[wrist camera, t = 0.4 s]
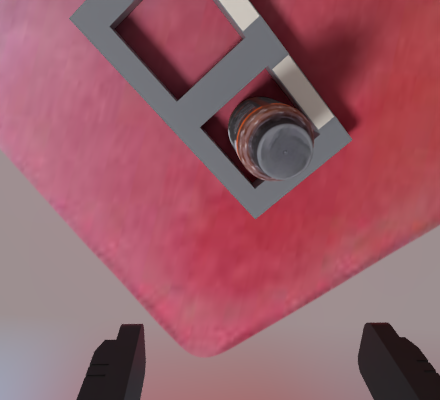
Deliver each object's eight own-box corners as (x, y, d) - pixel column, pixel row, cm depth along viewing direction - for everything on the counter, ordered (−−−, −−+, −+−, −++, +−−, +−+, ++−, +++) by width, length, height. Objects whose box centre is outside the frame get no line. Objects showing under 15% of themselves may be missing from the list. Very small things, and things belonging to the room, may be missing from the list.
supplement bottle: (221, 151, 36) (232, 186, 25) (233, 90, 34) (251, 99, 23) (279, 162, 37) (313, 200, 26) (294, 102, 35) (338, 117, 24)
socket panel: (178, -87, 29) (176, -99, 27) (344, 136, 36) (352, 139, 34) (76, 21, 31) (68, 18, 29) (252, 211, 38) (255, 219, 36)
